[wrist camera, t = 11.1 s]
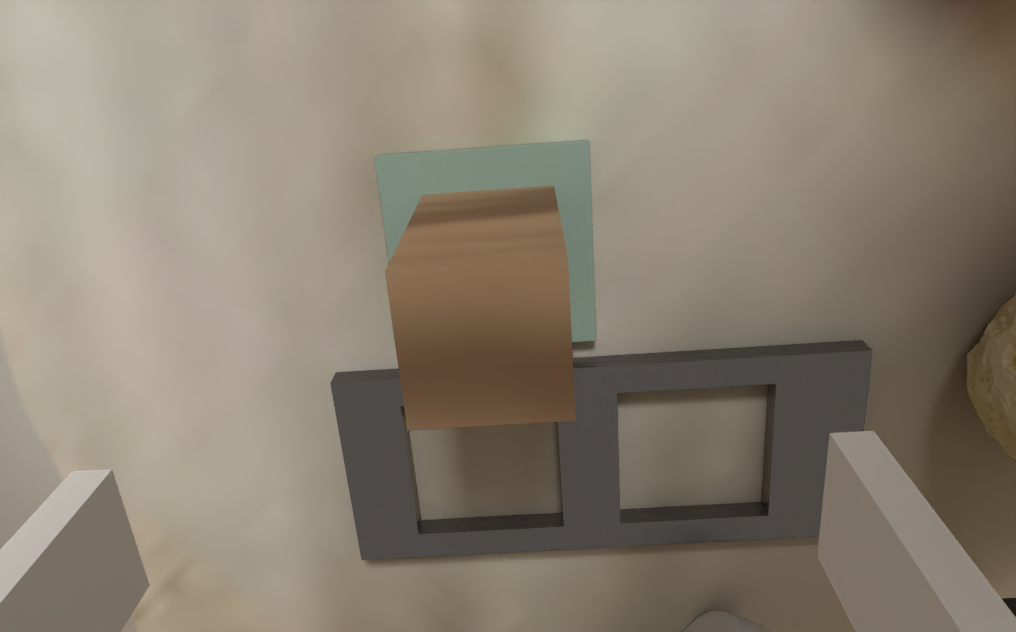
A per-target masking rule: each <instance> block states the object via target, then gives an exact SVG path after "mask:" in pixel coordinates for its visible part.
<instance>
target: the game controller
mask: <svg viewBox="0 0 1016 632" xmlns="http://www.w3.org/2000/svg"><path fill="white" fill-rule="evenodd" d="M684 632H769V631H768V630H767V629H766V628H764V627H763V626H761V625H759V624H757V623H755V622H753V621H750V620H747V619H745V618H742V617H740V616H737V615H734V614H732V613H729V612H726V611H720V610H715V611H710V612H707V613H704V614H702V615H701V616H699V617H698V618H696V619H695V620H694V621H693V622H692V623H691V624H690V625H689V626H688V627H687V628H686V629H685V630H684Z"/></svg>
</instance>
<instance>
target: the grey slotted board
mask: <svg viewBox="0 0 1016 632" xmlns="http://www.w3.org/2000/svg"><path fill="white" fill-rule="evenodd" d="M871 358H872V350H871V349H870V348H869V347H868V346H867V345H866V344H865V343H864V342H863V341H862V340H860V341H844V342H827V343H811V344H795V345H778V346H762V347H746V348H729V349H713V350H697V351H680V352H664V353H648V354H632V355H615V356H599V357H583V358H573V374H574V395H575V416H576V421H561V422H557V423H558V440H559V458H560V476H561V493H562V511H563V513H552V514H533V515H515V516H496V517H477V518H459V519H440V520H422V521H421V516H420V509H419V502H418V495H417V487H416V480H415V473H414V466H413V458H412V451H411V444H410V437H409V430H408V431H407V424H406V417H405V410H404V403H403V396H402V388H401V381H400V374H399V369H387V370H370V371H354V372H338V373H335V375H334V377H333V379H332V381H331V389H332V394H333V400H334V406H335V411H336V417H337V423H338V428H339V434H340V440H341V445H342V451H343V457H344V463H345V468H346V474H347V480H348V485H349V491H350V497H351V502H352V508H353V514H354V519H355V525H356V531H357V536H358V542H359V548H360V554H361V559H362V560H372V559H392V558H411V557H430V556H449V555H469V554H488V553H507V552H526V551H545V550H565V549H584V548H603V547H622V546H641V545H661V544H680V543H699V542H718V541H737V540H757V539H776V538H795V537H814V536H819V533H820V524H821V514H822V504H823V494H824V484H825V474H826V465H827V455H828V445H829V435H830V433H839V432H858V431H864V422H865V413H866V404H867V395H868V386H869V376H870V367H871ZM765 384H768V402H767V419H766V437H765V455H764V473H763V490H762V502H756V503H737V504H719V505H700V506H682V507H663V508H645V509H626V510H620V494H619V453H618V411H617V393H630V392H647V391H664V390H681V389H698V388H714V387H731V386H748V385H765Z"/></svg>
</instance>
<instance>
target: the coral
mask: <svg viewBox="0 0 1016 632" xmlns="http://www.w3.org/2000/svg"><path fill="white" fill-rule="evenodd" d="M967 390H968V394H969V396H970V399H971V401H972V404H973V406H974V408H975V409H976V410H977V413H978V416H979V418H980V420H981V421H982V422H983V424H984V425H985V426H986V428H985V430H986V431H987V432H988V433H989V434H990V435H991V436H992V437H993V438H995V439H996V440H998V441H999V443H1000V444H1001V446H1002V447H1003V450H1004V451H1005V452H1007V454H1008V455H1009V456H1010V457H1011V458H1013V459H1014V460H1015V461H1016V292H1015V296H1014V297H1012V298H1011V299H1010V300H1009V301H1007V302H1006V303H1005V304H1004V305H1003V306H1001V307H1000V309H999V311H998V312H997V314H996V315H995V317H994V318H993V319H992V321H991V322H990V323H989V324H988V326H987V328H986V330H985V332H984V335H983V336H982V337H981V340H980V341H979V343H978V344H976V345H975V346H974V348H973V349H972V350H971V351H970V352H969V353H968V354H967Z"/></svg>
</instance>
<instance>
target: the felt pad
mask: <svg viewBox="0 0 1016 632" xmlns="http://www.w3.org/2000/svg"><path fill="white" fill-rule="evenodd" d="M375 165H376V172H377V179H378V187H379V194H380V201H381V209H382V216H383V223H384V231H385V238H386V245H387V253H388V260H389V262H390V260H391V258H392V256H393V254H394V252H395V250H396V248H397V246H398V244H399V242H400V240H401V238H402V235H403V233H404V231H405V229H406V227H407V225H408V223H409V221H410V219H411V217H412V215H413V213H414V211H415V209H416V206H417V204H418V202H419V200H420V198H421V196H422V195H424V194H439V193H453V192H467V191H482V190H496V189H510V188H524V187H539V186H553V185H554V188H555V193H556V199H557V204H558V209H559V214H560V219H561V225H562V230H563V235H564V240H565V246H566V251H567V256H568V268H569V289H570V310H571V331H572V342H583V341H596V318H595V289H594V260H593V231H592V201H591V172H590V143H589V141H588V140H580V141H566V142H552V143H539V144H525V145H511V146H497V147H483V148H469V149H455V150H441V151H427V152H413V153H399V154H385V155H377V156H376V157H375Z"/></svg>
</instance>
